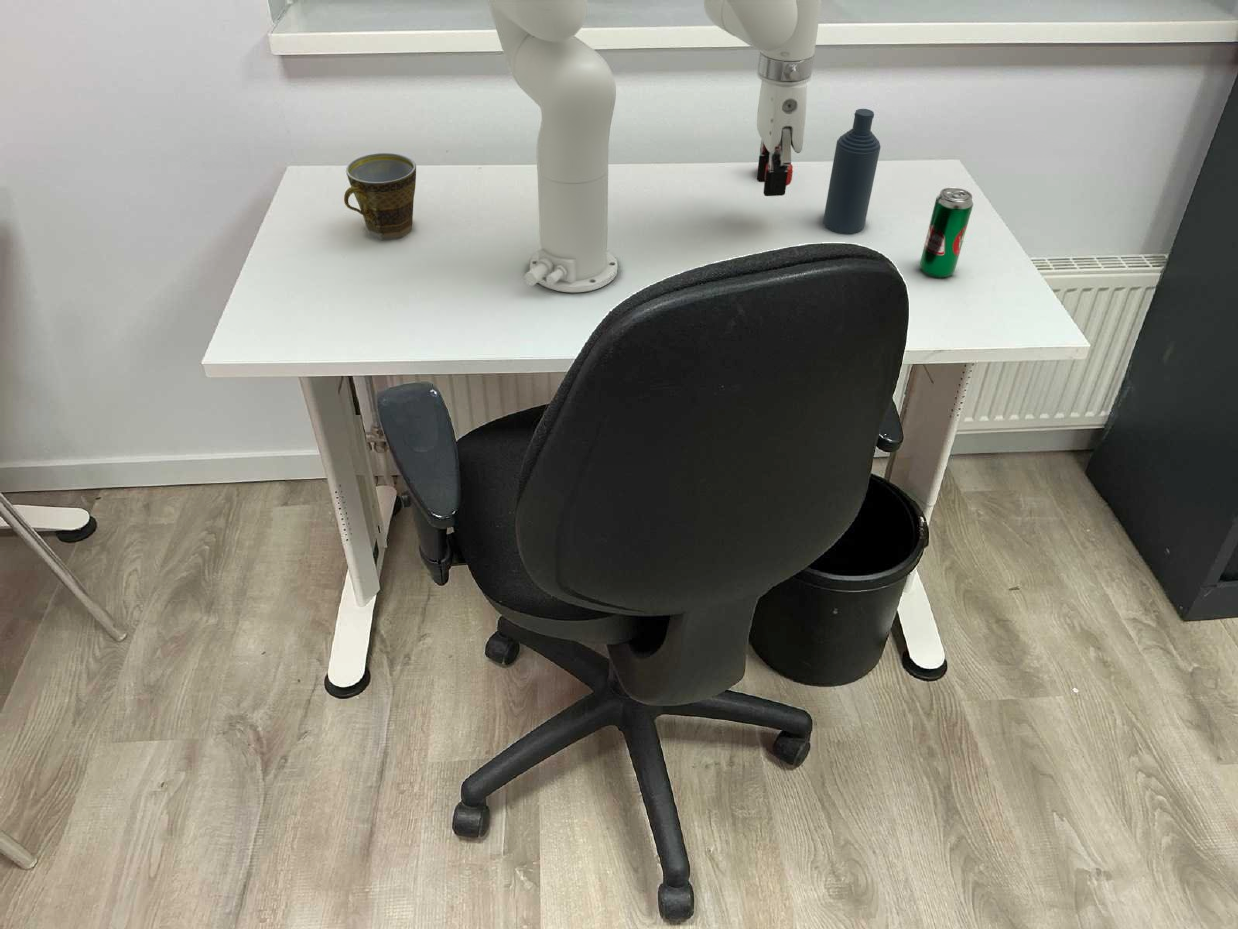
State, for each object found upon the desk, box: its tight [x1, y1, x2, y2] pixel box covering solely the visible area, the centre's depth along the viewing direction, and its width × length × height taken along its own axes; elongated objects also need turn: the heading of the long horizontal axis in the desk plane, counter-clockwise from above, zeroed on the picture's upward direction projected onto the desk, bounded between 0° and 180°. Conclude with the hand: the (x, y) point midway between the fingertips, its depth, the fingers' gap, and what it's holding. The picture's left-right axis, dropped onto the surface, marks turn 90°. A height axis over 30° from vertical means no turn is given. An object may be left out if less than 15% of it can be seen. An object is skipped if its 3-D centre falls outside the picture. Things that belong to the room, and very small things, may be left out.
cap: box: [764, 161, 794, 187], centre depth 149 cm, size 4×4×2 cm
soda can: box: [919, 187, 974, 279], centre depth 141 cm, size 5×5×12 cm
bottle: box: [822, 108, 882, 235], centre depth 149 cm, size 6×6×18 cm
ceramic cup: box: [343, 152, 417, 241], centre depth 147 cm, size 13×10×10 cm
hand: (770, 186), depth 150 cm, fingers closed on cap, 3 cm apart
